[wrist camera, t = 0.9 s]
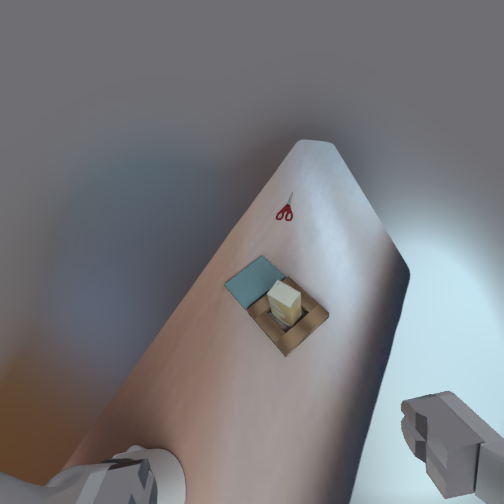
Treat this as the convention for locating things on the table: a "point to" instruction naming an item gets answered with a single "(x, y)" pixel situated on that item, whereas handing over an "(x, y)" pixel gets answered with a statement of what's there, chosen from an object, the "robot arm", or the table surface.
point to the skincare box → (285, 303)
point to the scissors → (286, 208)
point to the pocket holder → (296, 333)
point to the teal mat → (253, 282)
